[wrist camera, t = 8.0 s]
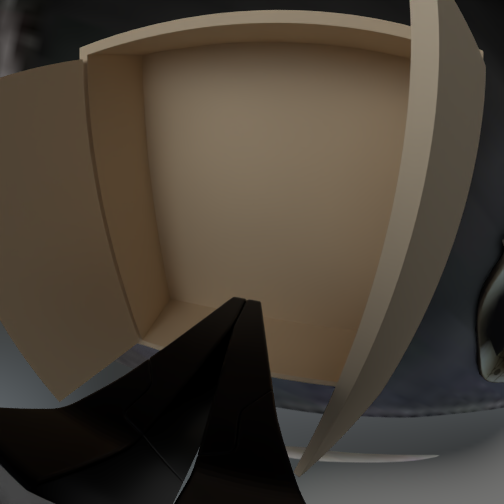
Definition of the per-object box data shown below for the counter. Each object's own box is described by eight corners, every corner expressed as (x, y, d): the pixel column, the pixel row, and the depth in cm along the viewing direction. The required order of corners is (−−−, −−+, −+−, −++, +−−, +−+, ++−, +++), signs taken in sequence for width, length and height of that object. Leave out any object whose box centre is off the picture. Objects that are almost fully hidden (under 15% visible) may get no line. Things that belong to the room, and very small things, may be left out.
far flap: (-67, 104, 4) (-66, 106, 4) (59, 401, 13) (56, 397, 13) (82, 59, 9) (79, 61, 9) (139, 341, 18) (135, 338, 18)
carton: (438, 59, 10) (483, 51, 6) (377, 332, 19) (380, 390, 15) (140, 49, 13) (79, 47, 9) (168, 298, 22) (138, 343, 18)
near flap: (475, 63, 6) (485, 66, 6) (376, 388, 15) (381, 391, 14) (406, -34, 2) (433, -33, 2) (293, 472, 11) (299, 477, 10)
